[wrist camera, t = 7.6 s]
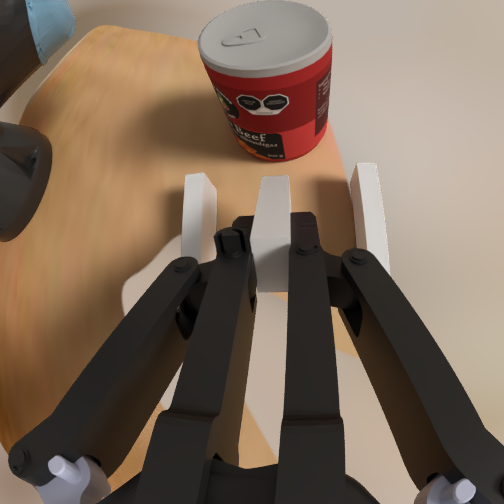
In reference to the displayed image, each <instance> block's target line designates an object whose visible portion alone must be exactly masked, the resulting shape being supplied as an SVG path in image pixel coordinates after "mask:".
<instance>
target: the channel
mask: <svg viewBox="0 0 504 504" xmlns="http://www.w3.org/2000/svg"><path fill="white" fill-rule="evenodd" d="M350 187H351V195H352V204H353V213H354V222H355V233H356V244H357V248H360V249H365V250H368V251H370V252H371V253H372V254H374V255H375V257H376V258H377V259H378V261H379V262H380V263H381V265H382V266H383V267H384V268H385V270H386V271H387V272H388V274H389V275H390V266H389V253H388V244H387V235H386V225H385V217H384V209H383V202H382V195H381V190H380V183H379V177H378V171H377V166H376V163H356V166H355V169H354V172H353V175H352V178H351V181H350ZM216 217H217V190H216V189H215V187H214V186H213V184H212V183H211V182H210V180H209V179H208V178H207V176H206V175H205V173H196V174H188V175H185V188H184V203H183V221H182V244H181V245H182V246H181V257H184V256H190V257H194V258H195V259H197V260H198V264H201V263H205V262H209V261H212V260H214V259H216V247H215V242H214V238H213V236H214V235H215V233H216Z"/></svg>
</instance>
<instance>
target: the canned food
mask: <svg viewBox="0 0 504 504" xmlns="http://www.w3.org/2000/svg"><path fill="white" fill-rule="evenodd" d="M198 49H199V52H200V57H201V59H202V61H203V63H204V66H205V69H206V71H207V73H208V76H209V78H210V80H211V82H212V85H213V87H214V89H215V91H216V94H217V96H218V98H219V100H220V103H221V105H222V107H223V110H224V112H225V114H226V117H227V119H228V121H229V123H230V126H231V128H232V130H233V133H234V135H235V137H236V139H237V141H238V143H239V144H240V145H241V146H242V147H243V148H244V149H245V150H247V151H248V152H249V153H251V154H252V155H254V156H256V157H258V158H260V159H264V160H267V161H276V162H280V161H289V160H293V159H297V158H299V157H301V156H304V155H305V154H307V153H309V152H310V151H311V150H312V149H313V148H315V147H316V146H317V144H318V143H319V141H320V140H321V139H322V137H323V136H324V133H325V131H326V127H327V118H328V106H329V94H330V79H331V63H332V33H331V26H330V23H329V22H328V20H327V19H326V17H325V16H324V15H322V14H321V13H320V12H319V11H317V10H315V9H314V8H312V7H309V6H306V5H304V4H300V3H296V2H291V1H282V0H267V1H257V2H253V3H248V4H244V5H241V6H238V7H235V8H232V9H230V10H228V11H226V12H224V13H222V14H221V15H219V16H217V17H216V18H214V19H213V20H212V21H210V22H209V23H208V24H207V25H206V27H205V28H204V29H203V30H202V32H201V34H200V36H199V39H198Z"/></svg>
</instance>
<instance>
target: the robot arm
mask: <svg viewBox="0 0 504 504" xmlns="http://www.w3.org/2000/svg"><path fill="white" fill-rule="evenodd" d="M75 28H76V20H75V17H74V15H73V12H72V10H71V7H70V5H69V3H68V1H67V0H0V108H1V107H2V106H3V104H4V103H5V102H6V101H7V100H8V99H9V98H10V97H11V96H12V94H14V92H15V91H16V90H17V89H18V88H19V87H20V86H21V85H22V84H23V83H24V82H25V81H26V80H27V79H28V78H29V77H30V76H31V75H32V74H33V73H34V72H35V71H37V70H38V69H39V68H40V67H41V66H42V65H43V66H44V65H45V64H46V63H47V61H48V59H49V58H50V57H51V56H52V55H53V54H54V53H56V52H57V51H58V50H59V49H60V48H61V47H62V46H63V45H65V44H66V43H67V42H68V41H69V40H70V39H71V37H72V36H73V34H74V32H75ZM51 164H52V147H51V143H50V141H49V139H48V138H47V137H46V136H45V135H43V134H42V133H40V132H39V131H38V130H36V129H34V128H30V127H25V126H21V125H16V124H10V123H5V122H0V241H2V242H5V241H9V240H11V239H13V238H15V237H16V236H17V235H18V234H19V233H20V232H21V231H22V230H23V229H24V228H25V226H26V225H27V224H28V222H29V221H30V219H31V218H32V216H33V214H34V213H35V211H36V209H37V207H38V205H39V203H40V201H41V198H42V196H43V194H44V191H45V188H46V185H47V182H48V179H49V175H50V170H51ZM213 238H214V242H215V247H216V251H217V256H216V259H214V260H212V261H209V262H205V263H201V264H198V260H197V259H195V258H194V257H190V256H184V257H180V258H177V259H175V260H173V261H172V262H171V263H170V264H168V266H167V267H166V268H165V269H164V270H163V272H162V273H161V274H160V275H159V276H158V277H157V279H156V280H155V281H154V282H153V283H152V284H151V286H150V287H149V288H148V289H147V290H146V292H145V293H144V294H143V295H142V297H141V298H140V299H139V300H138V301H137V303H136V304H135V305H134V306H133V308H132V309H131V310H130V311H129V312H128V314H127V315H126V316H125V317H124V319H123V320H122V321H121V322H120V324H119V325H118V326H117V327H116V329H115V330H114V331H113V332H112V334H111V335H110V336H109V338H108V339H107V340H106V341H105V343H104V344H103V345H102V347H101V348H100V349H99V350H98V352H97V353H96V354H95V356H94V357H93V358H92V360H91V361H90V362H89V364H88V365H87V366H86V368H85V369H84V370H83V372H82V373H81V374H80V376H79V377H78V378H77V380H76V381H75V382H74V384H73V385H72V387H71V388H70V389H69V391H68V392H67V393H66V395H65V396H64V398H63V399H62V400H61V402H60V403H59V405H58V406H57V408H56V409H55V410H54V412H53V413H52V415H50V416H49V417H48V418H47V419H45V420H44V421H43V422H42V423H40V424H39V425H38V426H37V427H35V428H34V429H33V430H32V431H30V432H29V433H28V434H27V435H25V436H24V437H23V438H21V439H20V440H19V441H18V442H16V443H15V444H14V445H13V447H12V448H11V450H10V452H9V458H8V462H9V467H10V469H11V471H12V473H13V474H14V475H16V476H17V477H19V478H20V479H22V480H24V481H26V482H28V483H30V484H32V485H34V486H35V487H36V489H37V491H38V492H39V494H40V496H41V498H42V500H43V501H44V503H45V504H380V503H379V502H378V501H377V500H376V499H375V498H374V497H373V496H372V495H371V494H370V493H369V492H368V491H367V490H366V489H365V487H363V486H362V485H361V484H360V483H359V482H358V481H356V480H355V479H354V478H352V477H350V476H348V475H347V474H345V440H344V424H343V419H342V417H341V416H340V409H339V393H338V379H337V366H336V354H335V343H334V333H333V324H332V315H331V306H332V307H337V308H338V312H339V314H340V316H341V318H342V320H343V323H344V325H345V327H346V329H347V331H348V333H349V335H350V337H351V340H352V342H353V344H354V346H355V348H356V350H357V353H358V355H359V357H360V359H361V361H362V364H363V366H364V368H365V370H366V373H367V375H368V377H369V379H370V382H371V384H372V386H373V388H374V391H375V393H376V395H377V398H378V400H379V402H380V405H381V407H382V410H383V412H384V414H385V417H386V419H387V421H388V424H389V426H390V429H391V431H392V434H393V436H394V439H395V441H396V444H397V446H398V449H399V451H400V454H401V457H402V459H403V462H404V464H405V467H406V469H407V471H408V473H409V475H410V477H411V479H412V481H413V482H414V484H415V485H416V487H417V488H418V490H419V491H420V492H419V493H418V495H417V497H416V499H415V501H414V504H504V446H503V445H502V444H501V443H500V442H499V441H498V440H497V439H496V438H495V437H494V436H493V435H492V434H491V433H490V432H488V431H487V430H486V429H485V427H484V425H483V423H482V421H481V419H480V417H479V415H478V413H477V412H476V410H475V408H474V406H473V404H472V402H471V400H470V399H469V397H468V395H467V393H466V392H465V390H464V388H463V386H462V384H461V383H460V381H459V379H458V377H457V376H456V374H455V372H454V371H453V369H452V367H451V366H450V364H449V362H448V361H447V359H446V357H445V356H444V354H443V353H442V351H441V349H440V348H439V346H438V345H437V343H436V342H435V340H434V338H433V337H432V335H431V334H430V332H429V331H428V329H427V328H426V326H425V325H424V323H423V322H422V320H421V319H420V317H419V316H418V314H417V313H416V312H415V310H414V309H413V307H412V306H411V304H410V303H409V301H408V300H407V299H406V297H405V296H404V294H403V293H402V292H401V290H400V289H399V287H398V286H397V285H396V283H395V282H394V281H393V279H392V278H391V277H390V275H389V274H388V272H387V271H386V270H385V268H384V267H383V266H382V265H381V263H380V262H379V261H378V259H377V258H376V257H375V255H374V254H372V253H371V252H370V251H368V250H365V249H360V248H354V249H349V250H347V251H345V252H344V253H343V255H342V257H340V256H334V255H331V254H328V253H326V252H325V251H324V250H323V249H322V247H321V245H320V240H319V234H318V228H317V221H316V216H315V215H313V214H312V213H311V212H295V213H292V212H291V198H290V184H289V175H280V176H265V177H262V181H261V186H260V191H259V196H258V201H257V206H256V211H255V215H253V216H239V217H238V218H237V219H236V220H235V221H233V224H232V227H228V228H224V229H222V230H220V231H218V232H217V233H215V235H214V236H213ZM256 287H257V290H258V292H288V321H287V351H286V373H285V393H284V411H283V419H282V424H281V434H280V447H279V460H278V464H274V465H268V466H263V467H257V468H251V469H244V468H240V467H239V453H238V443H239V435H240V428H241V421H242V414H243V406H244V399H245V391H246V384H247V376H248V369H249V361H250V353H251V345H252V337H253V329H254V322H255V314H256V305H257V297H256ZM178 307H179V308H178ZM182 362H183V365H182V368H181V372H180V375H179V379H178V382H177V386H176V389H175V392H174V396H173V400H172V403H171V406H170V408H169V409H168V410H165V411H162V412H161V413H160V414H159V415H158V417H157V420H156V422H155V425H154V429H153V432H152V436H151V439H150V443H149V446H148V450H147V453H146V457H145V461H144V464H143V468H142V471H141V472H140V473H138V474H137V475H136V476H134V477H133V478H132V479H130V480H129V481H128V482H126V483H125V484H124V485H122V486H121V487H119V488H118V489H117V490H115V491H114V492H112V493H111V494H110V492H111V486H110V484H109V483H108V481H107V479H108V478H109V477H110V476H111V475H112V474H113V473H114V472H115V471H116V470H117V468H118V467H119V466H120V465H121V464H122V462H123V461H124V459H125V458H126V456H127V455H128V453H129V452H130V450H131V448H132V447H133V445H134V443H135V442H136V440H137V438H138V437H139V435H140V433H141V431H142V430H143V428H144V426H145V425H146V423H147V421H148V420H149V418H150V416H151V415H152V413H153V411H154V409H155V408H156V406H157V404H158V403H159V401H160V399H161V398H162V396H163V394H164V392H165V391H166V389H167V388H168V386H169V384H170V383H171V381H172V379H173V377H174V376H175V374H176V372H177V371H178V369H179V367H180V366H181V364H182ZM109 494H110V495H109ZM103 497H105V498H104V499H102V498H103ZM101 499H102V500H101ZM100 500H101V501H100Z"/></svg>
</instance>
